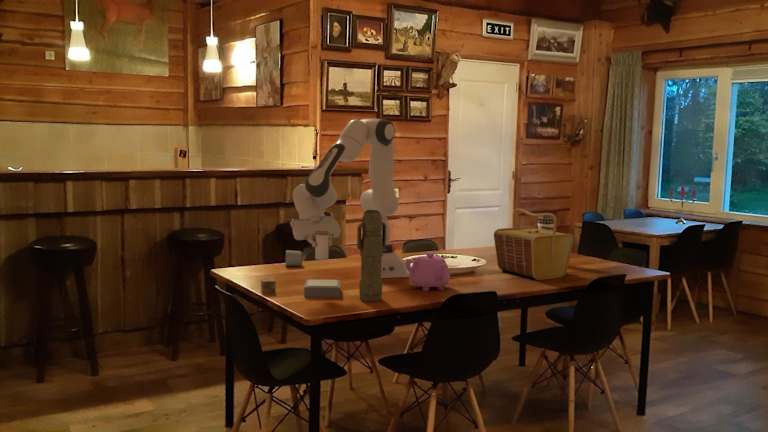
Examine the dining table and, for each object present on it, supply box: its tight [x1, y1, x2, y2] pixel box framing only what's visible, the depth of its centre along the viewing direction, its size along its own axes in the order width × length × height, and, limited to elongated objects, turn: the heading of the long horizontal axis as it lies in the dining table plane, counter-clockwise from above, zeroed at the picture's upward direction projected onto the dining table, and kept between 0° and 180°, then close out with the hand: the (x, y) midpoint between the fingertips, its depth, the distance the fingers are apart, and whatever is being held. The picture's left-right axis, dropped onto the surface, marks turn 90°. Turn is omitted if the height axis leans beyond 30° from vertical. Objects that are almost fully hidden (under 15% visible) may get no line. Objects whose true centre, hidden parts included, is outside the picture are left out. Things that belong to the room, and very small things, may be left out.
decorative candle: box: [536, 215, 554, 231], centre depth 369 cm, size 9×9×25 cm
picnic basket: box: [493, 208, 575, 281], centre depth 339 cm, size 29×26×30 cm
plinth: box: [303, 279, 341, 299], centre depth 291 cm, size 14×14×4 cm
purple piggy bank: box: [405, 252, 451, 292], centre depth 303 cm, size 20×20×15 cm
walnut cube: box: [260, 278, 277, 295], centre depth 292 cm, size 5×5×5 cm
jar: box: [314, 231, 329, 261], centre depth 290 cm, size 5×5×11 cm
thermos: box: [356, 210, 386, 303], centre depth 281 cm, size 9×12×35 cm
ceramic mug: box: [284, 249, 304, 267], centre depth 350 cm, size 11×8×8 cm
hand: (322, 245), depth 289 cm, fingers closed on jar, 5 cm apart
